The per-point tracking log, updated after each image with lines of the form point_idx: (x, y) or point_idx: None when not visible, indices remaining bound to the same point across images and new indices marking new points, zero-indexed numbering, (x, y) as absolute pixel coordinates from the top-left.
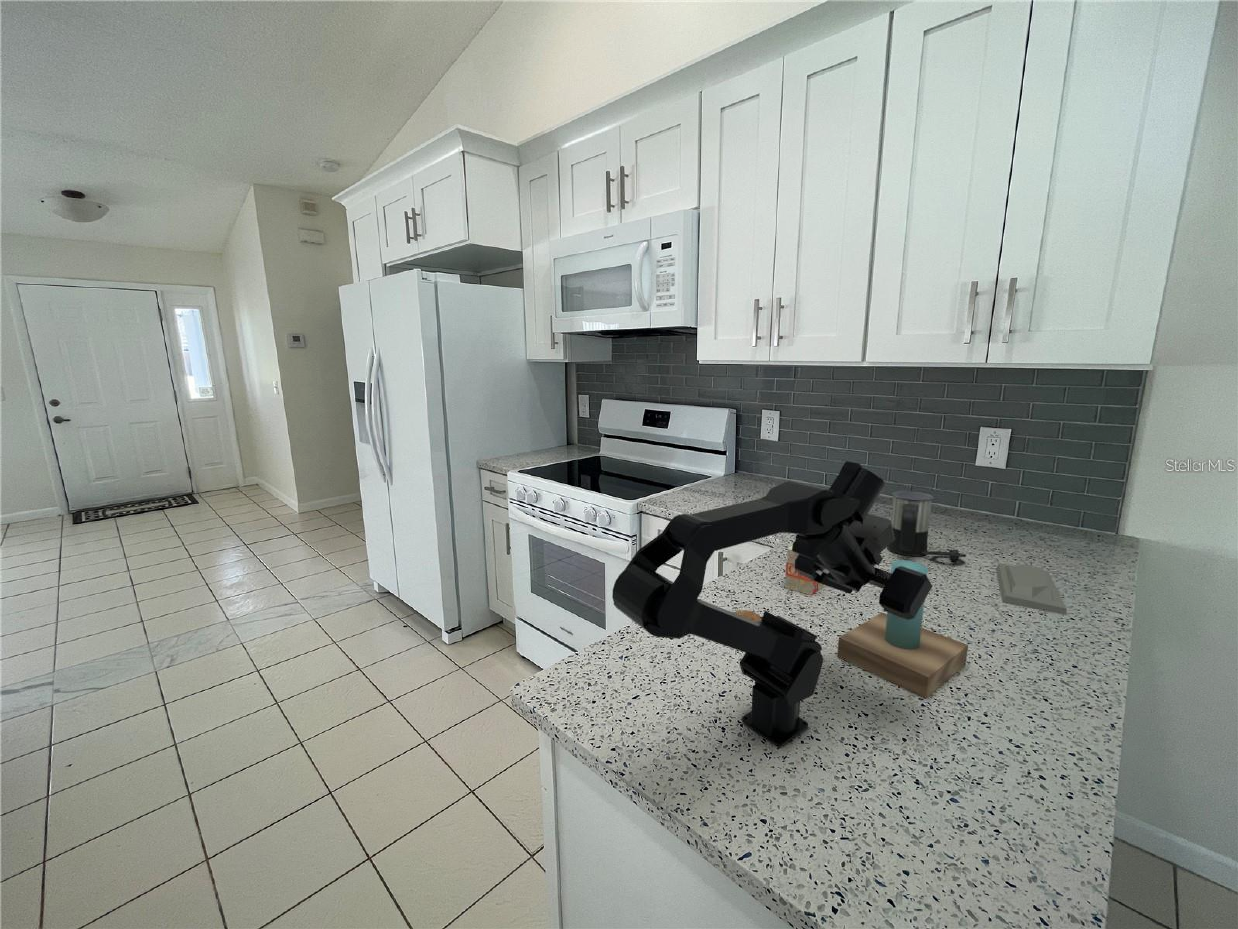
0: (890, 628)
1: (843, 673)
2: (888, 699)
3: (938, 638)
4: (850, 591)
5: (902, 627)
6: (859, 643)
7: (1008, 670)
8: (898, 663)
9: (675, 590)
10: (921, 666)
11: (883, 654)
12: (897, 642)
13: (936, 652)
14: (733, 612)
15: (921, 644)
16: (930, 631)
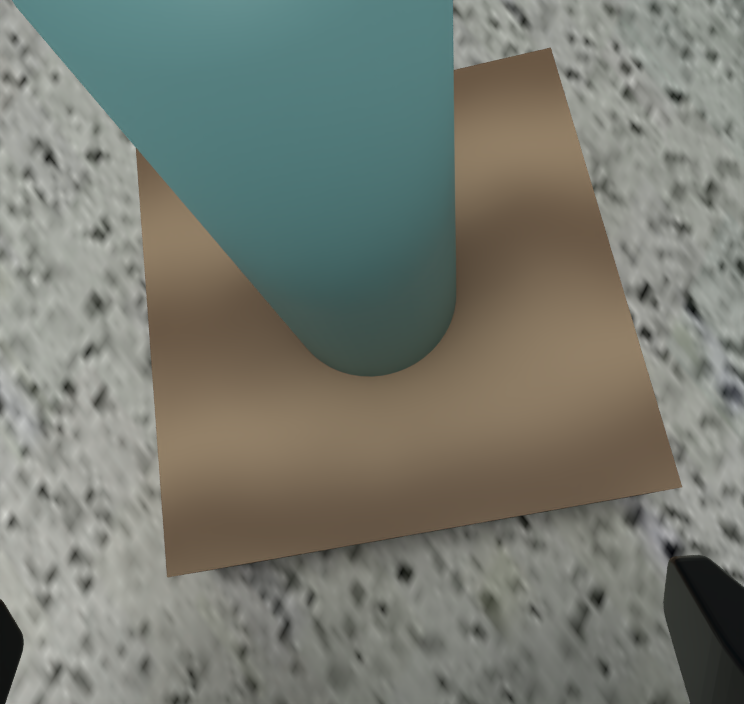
0: (335, 350)
1: (324, 672)
2: (574, 662)
3: None
4: (5, 653)
5: (405, 327)
6: (271, 526)
7: (638, 7)
8: (514, 511)
9: None
10: (591, 425)
11: (413, 505)
12: (396, 364)
13: (529, 236)
14: None
15: None
16: None
